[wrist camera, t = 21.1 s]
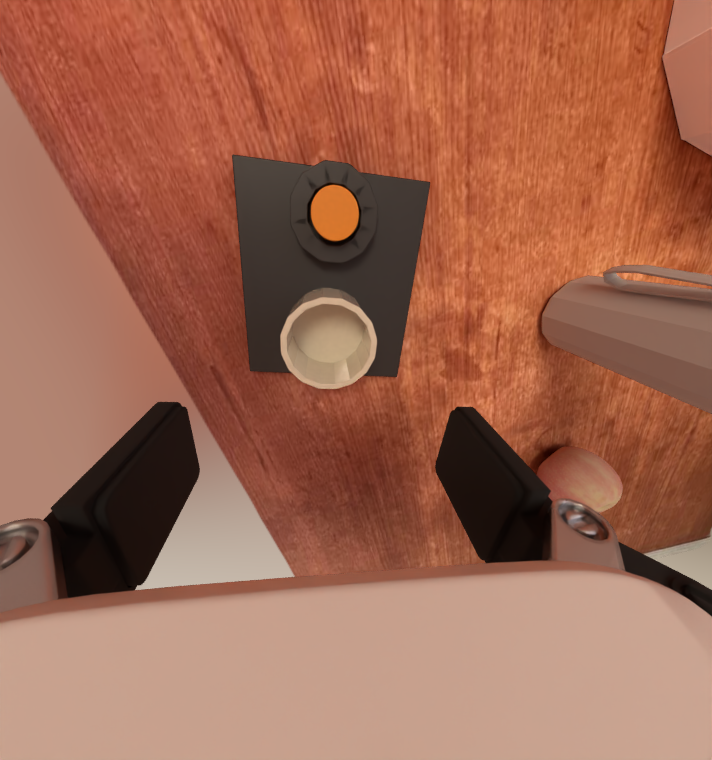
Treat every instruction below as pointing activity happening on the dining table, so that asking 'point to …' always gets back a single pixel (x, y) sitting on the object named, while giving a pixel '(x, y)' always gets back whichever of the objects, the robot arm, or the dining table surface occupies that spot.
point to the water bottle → (640, 329)
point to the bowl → (328, 339)
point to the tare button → (334, 213)
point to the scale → (325, 251)
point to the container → (691, 70)
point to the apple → (581, 478)
